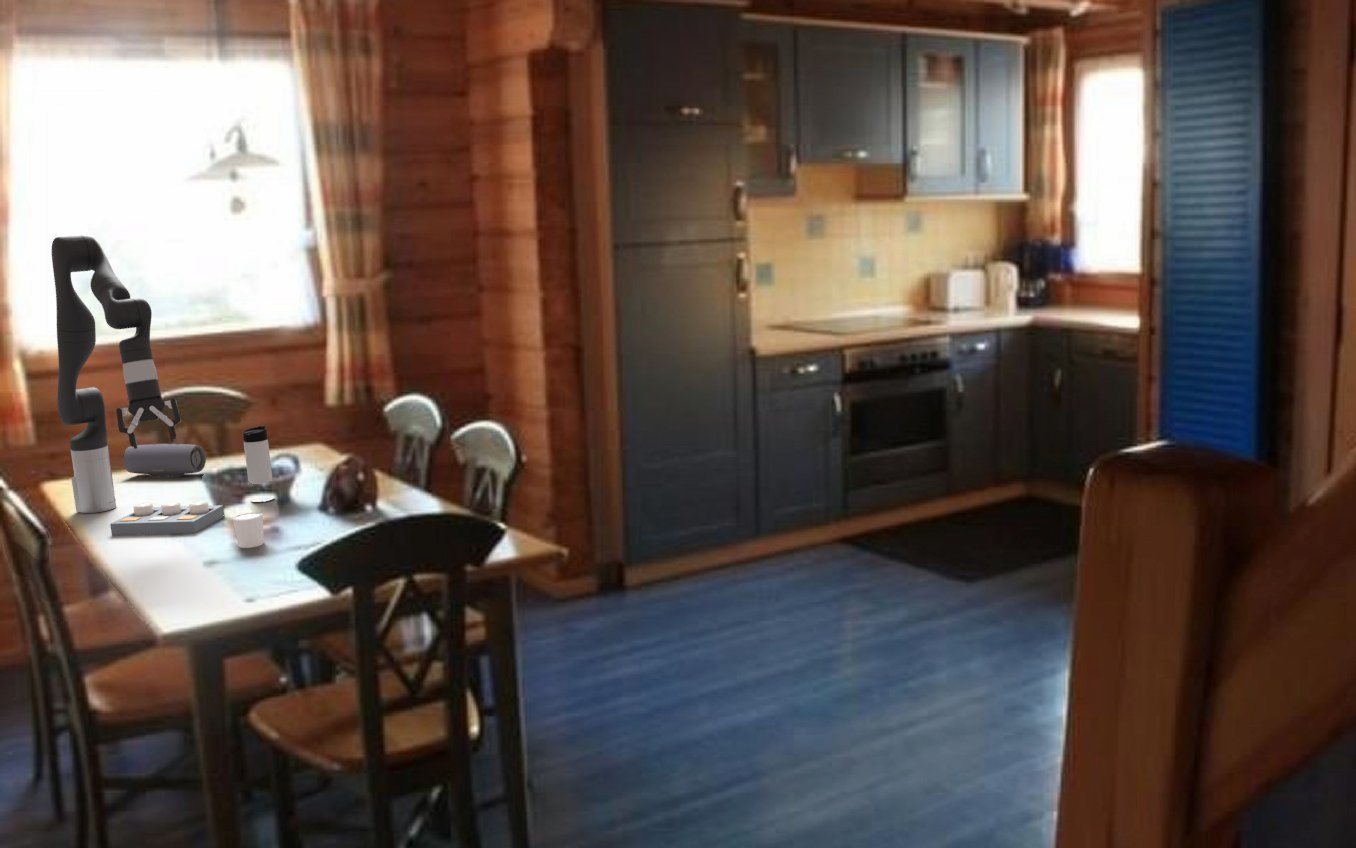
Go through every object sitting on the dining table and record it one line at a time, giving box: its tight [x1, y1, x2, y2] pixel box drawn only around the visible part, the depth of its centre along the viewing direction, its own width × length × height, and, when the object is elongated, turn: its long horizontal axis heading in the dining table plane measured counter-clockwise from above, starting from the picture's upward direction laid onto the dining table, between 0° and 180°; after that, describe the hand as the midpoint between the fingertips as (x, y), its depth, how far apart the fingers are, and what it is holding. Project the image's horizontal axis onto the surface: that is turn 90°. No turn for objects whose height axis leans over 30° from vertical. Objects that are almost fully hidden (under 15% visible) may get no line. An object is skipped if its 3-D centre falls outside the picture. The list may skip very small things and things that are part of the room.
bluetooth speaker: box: [122, 443, 207, 478], centre depth 393 cm, size 23×9×10 cm, turn 77°
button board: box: [109, 504, 225, 536], centre depth 330 cm, size 22×16×3 cm
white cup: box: [232, 512, 264, 549], centre depth 307 cm, size 7×7×7 cm
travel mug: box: [242, 425, 273, 484], centre depth 352 cm, size 6×7×20 cm
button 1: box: [133, 502, 154, 516], centre depth 333 cm, size 5×5×3 cm
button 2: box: [188, 501, 209, 514], centre depth 331 cm, size 5×5×3 cm
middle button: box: [160, 502, 182, 515], centre depth 332 cm, size 5×5×3 cm
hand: (154, 445), depth 318 cm, fingers open, 8 cm apart
